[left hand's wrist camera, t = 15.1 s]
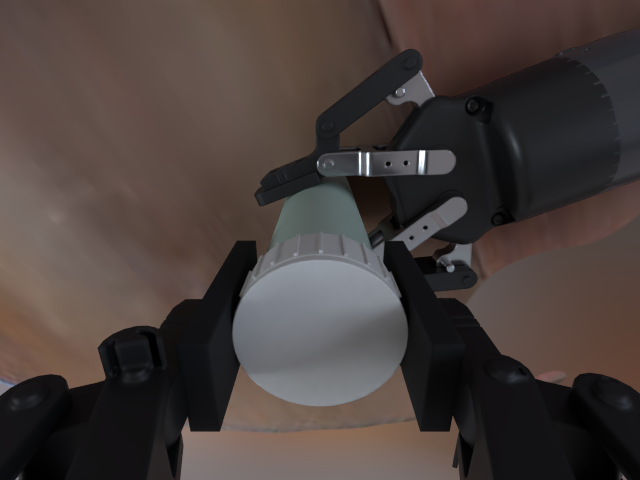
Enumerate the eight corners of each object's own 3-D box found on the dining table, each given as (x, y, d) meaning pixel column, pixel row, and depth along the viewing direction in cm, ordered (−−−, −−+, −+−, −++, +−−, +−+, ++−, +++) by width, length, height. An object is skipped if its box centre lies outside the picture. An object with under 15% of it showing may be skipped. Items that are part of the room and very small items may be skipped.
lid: (423, 260, 12) (443, 292, 10) (361, 378, 14) (368, 425, 12) (269, 207, 11) (258, 230, 9) (227, 339, 13) (210, 382, 11)
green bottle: (351, 222, 27) (392, 382, 12) (291, 225, 27) (255, 388, 12) (350, 161, 26) (397, 256, 10) (286, 165, 26) (236, 263, 10)
